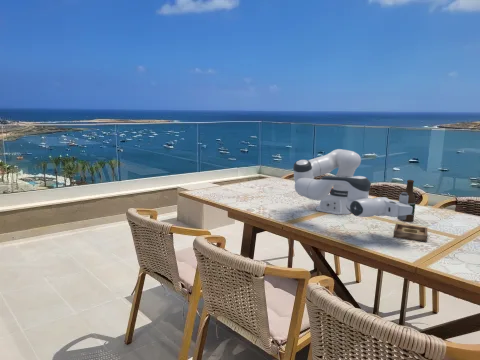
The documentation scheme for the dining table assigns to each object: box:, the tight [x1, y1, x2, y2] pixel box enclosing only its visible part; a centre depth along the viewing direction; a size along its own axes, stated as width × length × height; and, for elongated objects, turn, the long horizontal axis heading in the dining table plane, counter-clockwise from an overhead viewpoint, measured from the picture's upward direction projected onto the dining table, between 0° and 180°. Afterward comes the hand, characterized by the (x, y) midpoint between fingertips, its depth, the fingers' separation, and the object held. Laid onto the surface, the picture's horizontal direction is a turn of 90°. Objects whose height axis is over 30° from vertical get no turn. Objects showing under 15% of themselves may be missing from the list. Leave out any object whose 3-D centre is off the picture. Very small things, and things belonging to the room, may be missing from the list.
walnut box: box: [393, 223, 428, 243], centre depth 185 cm, size 15×15×3 cm
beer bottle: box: [400, 179, 417, 223], centre depth 211 cm, size 8×8×24 cm
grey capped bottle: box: [396, 191, 409, 221], centre depth 179 cm, size 4×4×13 cm
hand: (404, 204), depth 179 cm, fingers closed on grey capped bottle, 4 cm apart
